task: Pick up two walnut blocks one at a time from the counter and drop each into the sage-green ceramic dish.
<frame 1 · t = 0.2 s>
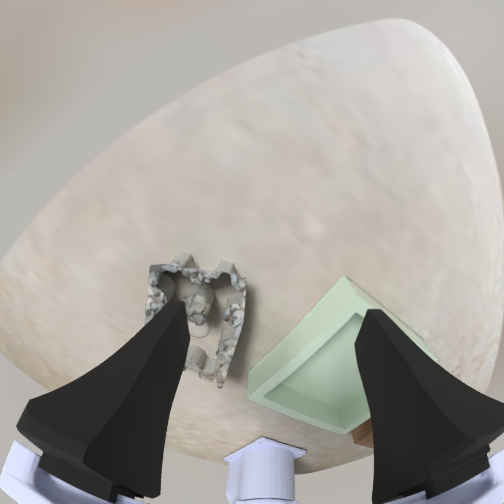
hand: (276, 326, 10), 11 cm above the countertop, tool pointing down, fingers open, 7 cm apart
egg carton: (198, 308, 23), on the countertop
block a: (369, 414, 27), on the countertop
dish: (342, 359, 24), on the countertop
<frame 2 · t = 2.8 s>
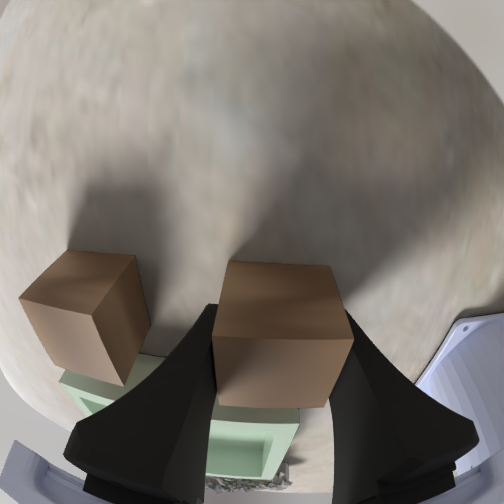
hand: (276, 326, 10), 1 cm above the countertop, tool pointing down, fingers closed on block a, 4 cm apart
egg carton: (241, 462, 24), on the countertop
block a: (275, 303, 12), on the countertop, touching gripper
dish: (191, 412, 17), on the countertop
block b: (108, 288, 12), on the countertop
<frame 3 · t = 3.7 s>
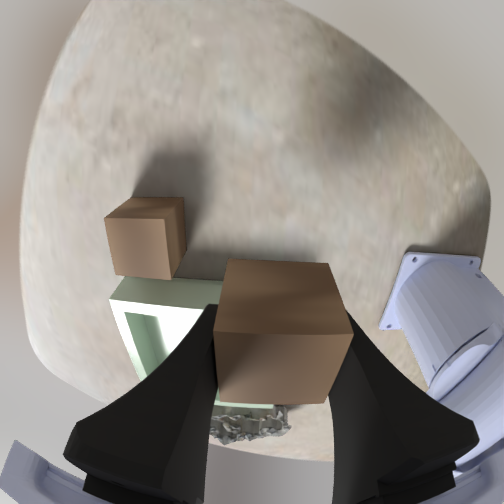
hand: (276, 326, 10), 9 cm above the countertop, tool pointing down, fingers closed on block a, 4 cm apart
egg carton: (245, 408, 31), on the countertop
block a: (274, 300, 12), point 8 cm above the countertop, touching gripper
dish: (207, 337, 24), on the countertop
block b: (158, 223, 19), on the countertop
when the fingers open (6 cm above the countertop, at t = 5.0 s): block a drops 4 cm, resting on dish.
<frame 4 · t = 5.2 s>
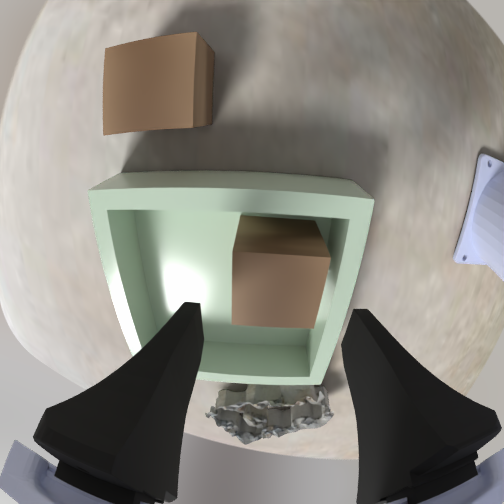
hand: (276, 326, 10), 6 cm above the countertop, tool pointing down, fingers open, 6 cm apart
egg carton: (271, 393, 24), on the countertop
block a: (274, 250, 15), point 1 cm above the countertop, touching dish
dish: (230, 275, 17), on the countertop
block b: (175, 89, 12), on the countertop
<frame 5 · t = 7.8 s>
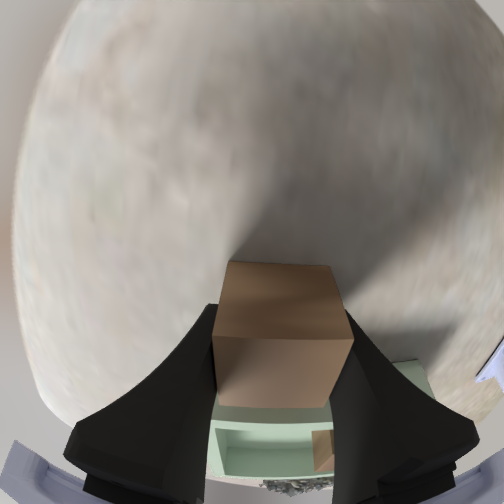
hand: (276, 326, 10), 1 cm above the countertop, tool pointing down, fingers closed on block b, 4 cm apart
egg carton: (312, 462, 24), on the countertop
block a: (345, 409, 15), point 1 cm above the countertop, touching dish
dish: (301, 418, 17), on the countertop
block b: (275, 303, 12), on the countertop, touching gripper
when the fingers open (6 cm above the countertop, at t = 10.3 s): block b drops 4 cm, resting on dish.
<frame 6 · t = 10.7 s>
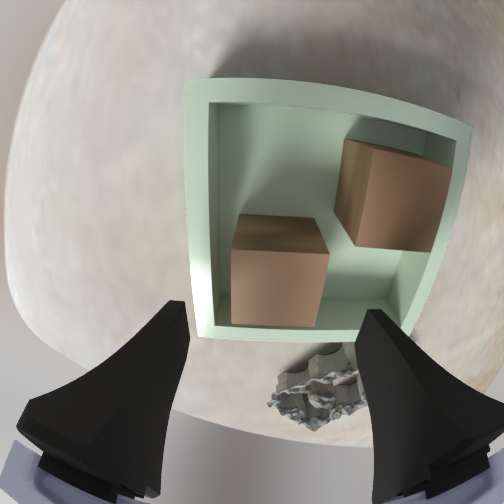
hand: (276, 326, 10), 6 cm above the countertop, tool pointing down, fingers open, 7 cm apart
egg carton: (334, 368, 22), on the countertop
block a: (373, 181, 13), point 1 cm above the countertop, touching dish
dish: (320, 211, 15), on the countertop
block b: (274, 249, 15), point 1 cm above the countertop, touching dish
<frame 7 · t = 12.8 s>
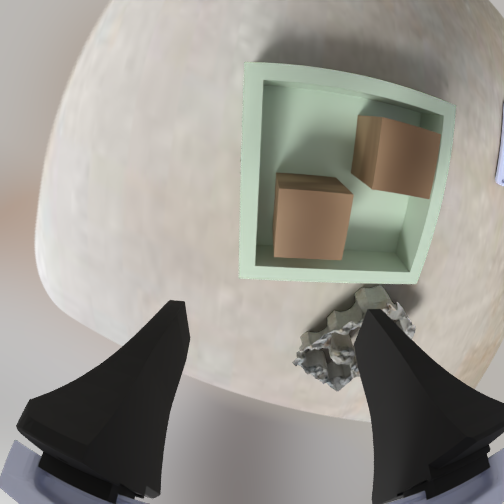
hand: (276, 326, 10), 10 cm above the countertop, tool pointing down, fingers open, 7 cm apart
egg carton: (351, 326, 25), on the countertop
block a: (381, 149, 16), point 1 cm above the countertop, touching dish
dish: (340, 173, 17), on the countertop
block b: (303, 203, 18), point 1 cm above the countertop, touching dish
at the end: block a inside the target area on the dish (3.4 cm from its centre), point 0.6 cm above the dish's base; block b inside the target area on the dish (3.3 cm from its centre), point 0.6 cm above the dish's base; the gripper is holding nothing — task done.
